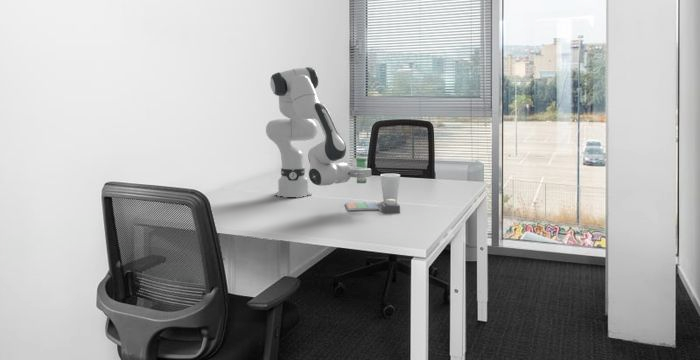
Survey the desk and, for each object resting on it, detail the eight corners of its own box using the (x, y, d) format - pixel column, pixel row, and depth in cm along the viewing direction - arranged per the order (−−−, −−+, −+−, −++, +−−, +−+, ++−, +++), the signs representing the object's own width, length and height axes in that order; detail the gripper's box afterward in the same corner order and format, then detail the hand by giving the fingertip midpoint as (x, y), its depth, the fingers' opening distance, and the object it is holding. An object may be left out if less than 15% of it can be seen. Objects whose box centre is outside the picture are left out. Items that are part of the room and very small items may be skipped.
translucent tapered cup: (382, 204, 254) (383, 176, 252) (378, 200, 263) (378, 173, 261) (402, 203, 256) (402, 176, 253) (396, 199, 264) (397, 173, 262)
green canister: (355, 182, 248) (355, 157, 246) (365, 181, 248) (365, 157, 247) (357, 183, 243) (356, 158, 242) (367, 183, 244) (367, 158, 242)
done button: (384, 206, 240) (384, 199, 240) (394, 206, 241) (394, 198, 240) (386, 208, 236) (386, 201, 235) (396, 208, 236) (396, 200, 236)
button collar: (381, 209, 242) (381, 203, 241) (396, 209, 242) (396, 202, 242) (383, 213, 235) (383, 206, 234) (399, 212, 235) (399, 205, 235)
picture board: (345, 204, 253) (345, 203, 253) (374, 203, 255) (374, 202, 255) (348, 211, 239) (348, 209, 239) (379, 210, 240) (379, 208, 240)
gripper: (358, 167, 228) (380, 164, 238) (325, 163, 242) (346, 160, 252) (358, 182, 229) (380, 178, 239) (325, 177, 243) (347, 174, 253)
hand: (362, 169), depth 246 cm, fingers closed on green canister, 4 cm apart
